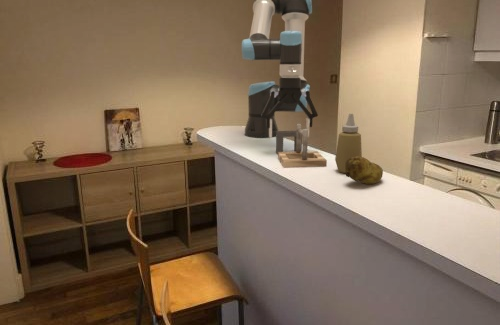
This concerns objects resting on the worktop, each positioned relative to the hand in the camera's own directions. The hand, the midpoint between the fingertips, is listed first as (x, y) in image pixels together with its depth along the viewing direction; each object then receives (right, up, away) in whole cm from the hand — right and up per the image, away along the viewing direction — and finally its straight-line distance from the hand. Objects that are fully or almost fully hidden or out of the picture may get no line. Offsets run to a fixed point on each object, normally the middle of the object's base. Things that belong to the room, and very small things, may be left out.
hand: (288, 136), depth 150 cm
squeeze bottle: (+16, -12, -22) cm, 30 cm away
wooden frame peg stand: (+3, -9, -10) cm, 14 cm away
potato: (+18, -15, -33) cm, 41 cm away
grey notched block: (0, -6, +2) cm, 6 cm away
